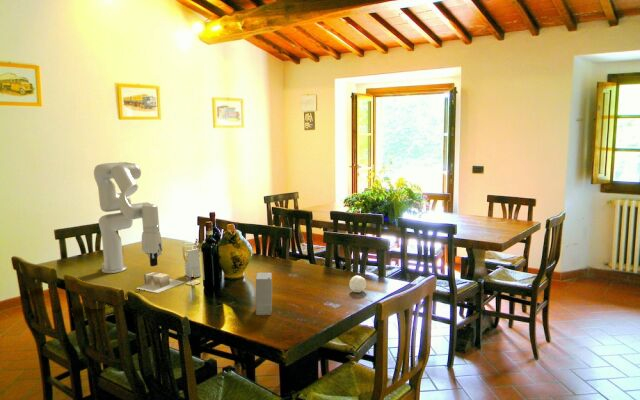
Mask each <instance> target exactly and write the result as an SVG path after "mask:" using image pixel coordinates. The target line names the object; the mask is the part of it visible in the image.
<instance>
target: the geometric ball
mask: <svg viewBox="0 0 640 400" xmlns="http://www.w3.org/2000/svg"><path fill="white" fill-rule="evenodd" d="M348 286H349V288H350V290H351V291H353V292H354V293H359V294H360V293H361V292H363V291H364V290H365V289H366V288H367V281H366V279H365V278H364V277H363V276H361V275H354V276H352V277H351V279H350V280H349V285H348Z"/></svg>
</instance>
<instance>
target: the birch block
mask: <svg viewBox="0 0 640 400" xmlns="http://www.w3.org/2000/svg"><path fill="white" fill-rule="evenodd" d="M143 276H144V285H146V284H147V285H152V286H158V287H165V286H167V285H170V279H171V278H170V274H168V273H167V274H166V273H163V272H162V273H160V272H156V271H155V272H154V271H150V272H148V273H144V274H143Z"/></svg>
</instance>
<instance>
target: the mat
mask: <svg viewBox="0 0 640 400" xmlns="http://www.w3.org/2000/svg"><path fill="white" fill-rule="evenodd" d="M185 283H186V281H182V280H177V279H173V278H172V279H171V278H170V285H167V286H165V287H158V286H152V285H147V284H144V285H142V286H138V287H136V288H135V289H136V290H139V289H140V290H139V291H144V290H145V291H144V292H148V293H149V292H150V293H155V294H160V293H162V292H164V291H167V290H169V289H172V288H175V287H176V286H177V287H178V286H179V285H182V284H185Z"/></svg>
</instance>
